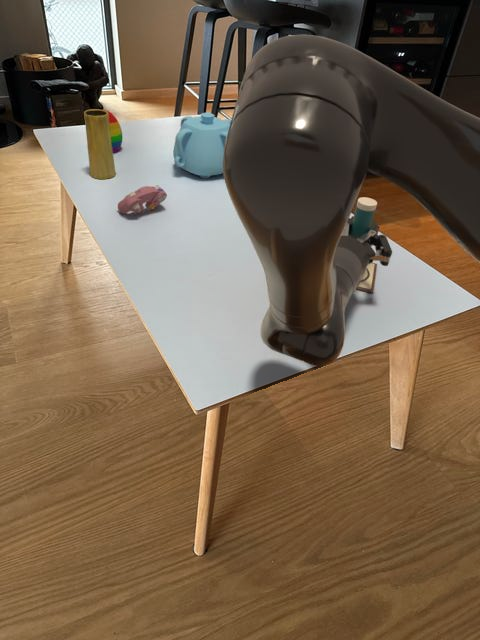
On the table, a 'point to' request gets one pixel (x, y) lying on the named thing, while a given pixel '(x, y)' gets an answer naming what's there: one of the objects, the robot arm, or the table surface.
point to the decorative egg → (115, 132)
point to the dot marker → (363, 216)
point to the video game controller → (142, 199)
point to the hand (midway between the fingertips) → (363, 224)
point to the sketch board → (368, 279)
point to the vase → (99, 144)
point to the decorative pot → (201, 144)
